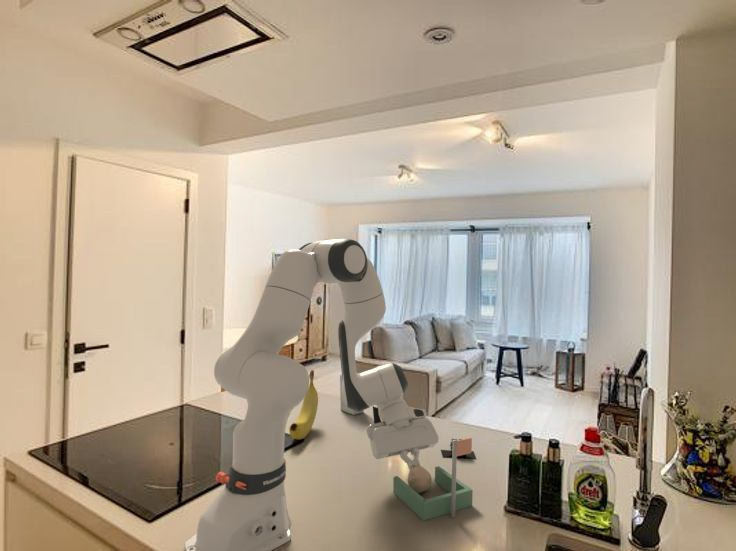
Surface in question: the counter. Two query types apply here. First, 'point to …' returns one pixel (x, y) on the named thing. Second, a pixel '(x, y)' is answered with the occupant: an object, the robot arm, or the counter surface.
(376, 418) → the dixie cup
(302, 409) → the banana
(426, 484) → the garlic bulb
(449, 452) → the build plate
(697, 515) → the counter surface
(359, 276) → the robot arm
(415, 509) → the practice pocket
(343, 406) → the skincare box
